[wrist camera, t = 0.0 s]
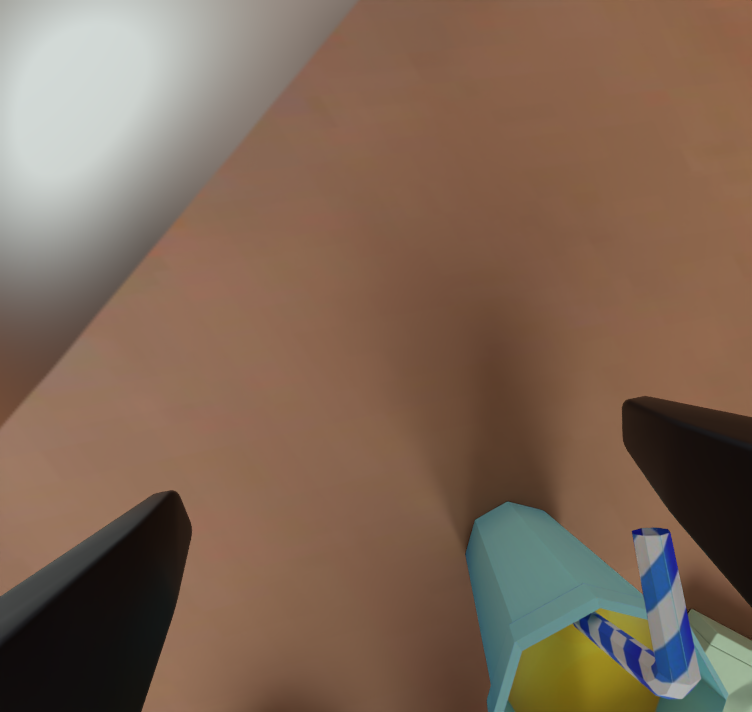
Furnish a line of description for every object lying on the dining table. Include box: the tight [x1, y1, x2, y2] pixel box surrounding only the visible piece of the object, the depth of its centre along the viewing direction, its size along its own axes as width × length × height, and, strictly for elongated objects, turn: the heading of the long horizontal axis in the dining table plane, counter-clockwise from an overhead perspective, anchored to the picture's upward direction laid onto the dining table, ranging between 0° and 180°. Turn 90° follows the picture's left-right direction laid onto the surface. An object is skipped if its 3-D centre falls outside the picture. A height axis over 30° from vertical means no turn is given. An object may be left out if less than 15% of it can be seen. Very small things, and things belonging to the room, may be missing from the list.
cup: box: [465, 501, 729, 712], centre depth 18 cm, size 14×8×15 cm, turn 8°
